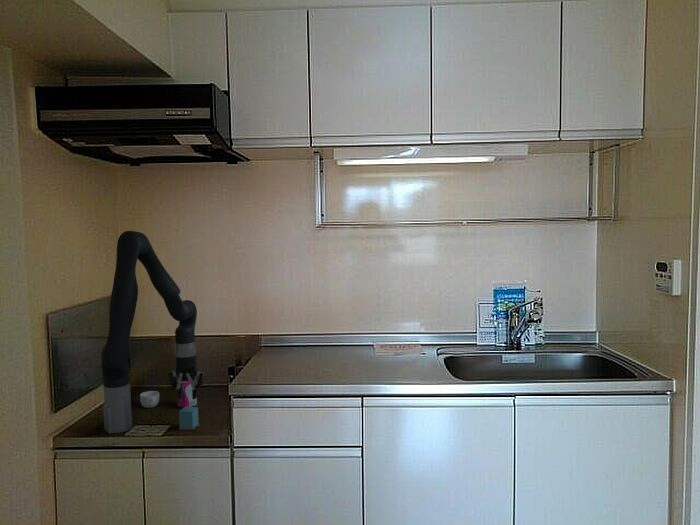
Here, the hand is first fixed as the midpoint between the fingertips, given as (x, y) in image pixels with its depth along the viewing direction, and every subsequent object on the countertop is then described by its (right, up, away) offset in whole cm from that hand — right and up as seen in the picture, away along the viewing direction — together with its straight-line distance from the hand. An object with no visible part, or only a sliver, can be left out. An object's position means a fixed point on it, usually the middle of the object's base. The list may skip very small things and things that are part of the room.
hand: (187, 398), depth 218 cm
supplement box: (-7, -10, +25) cm, 28 cm away
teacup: (-23, -10, +26) cm, 36 cm away
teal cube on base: (0, -11, +1) cm, 11 cm away
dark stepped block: (0, -11, +1) cm, 11 cm away
